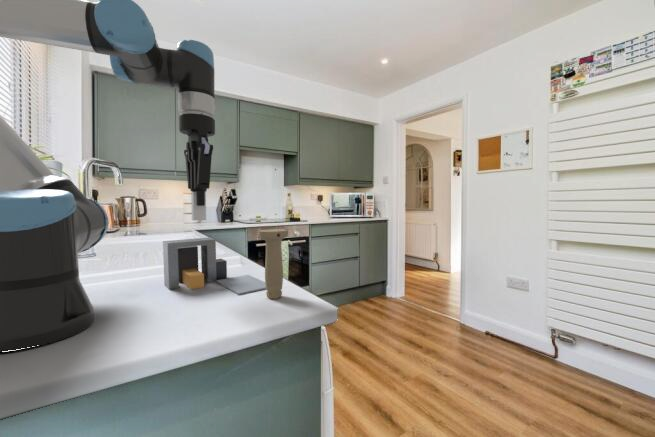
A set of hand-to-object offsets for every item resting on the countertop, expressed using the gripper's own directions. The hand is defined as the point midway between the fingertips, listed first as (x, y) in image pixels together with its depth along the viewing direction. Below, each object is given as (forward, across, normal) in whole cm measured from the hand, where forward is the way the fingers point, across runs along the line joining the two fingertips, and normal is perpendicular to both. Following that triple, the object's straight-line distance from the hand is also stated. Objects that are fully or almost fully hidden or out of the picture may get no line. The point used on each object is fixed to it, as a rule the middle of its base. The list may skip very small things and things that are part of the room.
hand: (199, 219), depth 70 cm
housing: (+17, +9, -2) cm, 19 cm away
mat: (+17, -1, -10) cm, 20 cm away
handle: (+17, -15, -11) cm, 25 cm away
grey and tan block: (+17, +11, -1) cm, 20 cm away
